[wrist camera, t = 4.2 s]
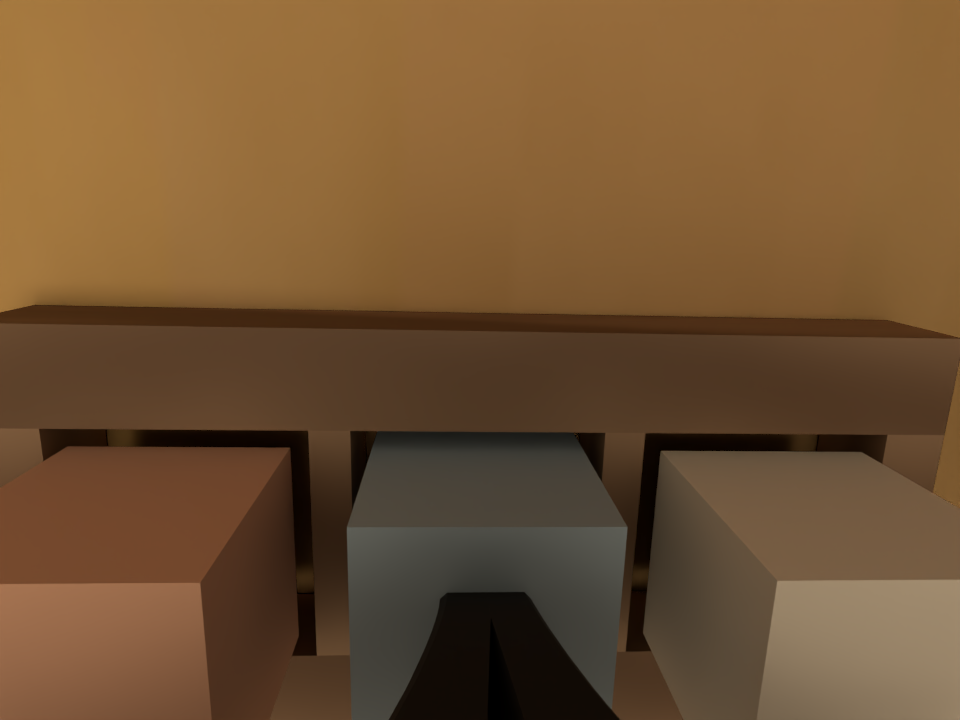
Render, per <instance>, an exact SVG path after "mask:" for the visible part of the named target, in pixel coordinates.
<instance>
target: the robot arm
mask: <svg viewBox="0 0 960 720" xmlns="http://www.w3.org/2000/svg"><path fill="white" fill-rule="evenodd" d="M389 720H620V719H619V717H618V716H617V715H616V714H615V713H614V712H613V711H612V709H611V708H610V707H609V706H608V705H607V704H606V702H605V701H604V700H603V699H602V698H601V696H600V695H599V694H598V693H597V692H596V690H595V689H594V688H593V687H592V685H591V684H590V683H589V681H588V680H587V679H586V678H585V676H584V675H583V674H582V672H581V671H580V670H579V668H578V667H577V666H576V665H575V663H574V662H573V661H572V659H571V658H570V657H569V655H568V654H567V653H566V651H565V650H564V648H563V647H562V646H561V644H560V643H559V641H558V640H557V638H556V637H555V636H554V634H553V633H552V631H551V630H550V628H549V627H548V625H547V624H546V622H545V621H544V619H543V618H542V616H541V614H540V613H539V611H538V610H537V608H536V606H535V605H534V603H533V601H532V600H531V598H530V597H529V596H528V595H527V594H526V593H525V592H453V593H446V594H445V595H444V596H443V597H442V598H441V599H440V603H439V609H438V613H437V617H436V620H435V623H434V626H433V629H432V632H431V634H430V637H429V639H428V642H427V644H426V647H425V649H424V651H423V654H422V656H421V658H420V660H419V662H418V664H417V667H416V669H415V671H414V673H413V675H412V677H411V679H410V682H409V683H408V685H407V687H406V689H405V691H404V693H403V695H402V697H401V698H400V700H399V702H398V704H397V706H396V707H395V709H394V711H393V713H392V715H391V716H390V718H389Z"/></svg>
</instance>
